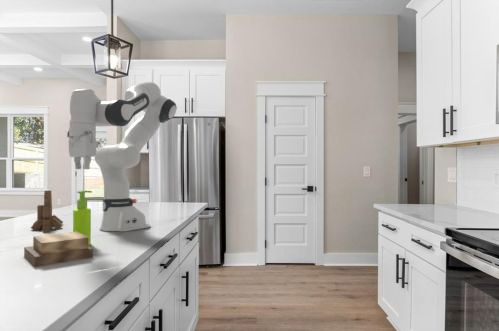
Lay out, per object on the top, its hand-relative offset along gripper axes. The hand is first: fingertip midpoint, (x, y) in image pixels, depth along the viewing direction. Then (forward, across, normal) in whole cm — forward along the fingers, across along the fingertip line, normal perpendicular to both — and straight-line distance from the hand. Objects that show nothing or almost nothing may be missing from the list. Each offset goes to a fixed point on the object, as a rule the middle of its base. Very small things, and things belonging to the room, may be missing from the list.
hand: (82, 169), depth 127 cm
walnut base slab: (+29, -13, +11) cm, 33 cm away
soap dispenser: (+28, 0, -1) cm, 28 cm away
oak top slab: (+25, -14, +10) cm, 30 cm away
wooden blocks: (+28, +47, +1) cm, 55 cm away
